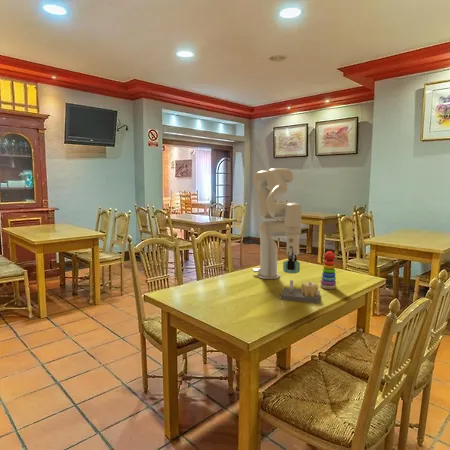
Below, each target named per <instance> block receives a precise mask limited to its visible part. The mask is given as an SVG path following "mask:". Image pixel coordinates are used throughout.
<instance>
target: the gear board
mask: <svg viewBox="0 0 450 450" xmlns="http://www.w3.org/2000/svg"><path fill="white" fill-rule="evenodd" d="M320 295H321V290H319V284H318V283H315V282H312V281H307V282H302V283H301V288H296V287H295V288H294V280H292V279H290V280H289V287H283V289H282V291H281V293H280V296H279V298H280V300H283V301H292V302H300V303H301V302H303V303H312V304H313V303H314V304H319V301H320Z"/></svg>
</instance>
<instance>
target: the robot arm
mask: <svg viewBox="0 0 450 450" xmlns="http://www.w3.org/2000/svg"><path fill="white" fill-rule="evenodd" d="M293 181H294V174H293V172H292V170H291V169H290V168H286V167H285V168H280V167H279V168H278V167H277V168H270V169H267V170H260V171H257V172H255V173H254V176H253V184H254V185H253V186H254V189H255V191H256V194H257V197H258V206H259V207H258V208H259V209H258V210H259V215H260V218H261V219H263V220H266V221H263V222H261V223H260V224H259V226H258V232H259V245H260V247H259V249H260V250H259V251H260V252H259V253H260V254H259V256H260V259H259V260H260V261H259V263H260V264H259V265H260V266H259V267H258V268H255V267H254V268H252V272H254V273H257V278H260V279H263V280H277V279H279V278H280V276H281V275H280V273H278V244H277V243H276V242H275V240H274V239H282V238H284V239H285V238H286V255H287V260H288V261H287V260H286V261H287V269H288V270H294V269H295V261H298V260H297V256H298V255H299V254H300V235H301V234H302V204H300V203H296V202H293V201H291V202H290V201H284V202H283V201H279V202H275V201H276V200H278V199H280V198H282V197H284V196H285V195H286V194H287V192H288V187H287V186H288V185H291V184H292V183H293ZM267 220H268V221H267Z"/></svg>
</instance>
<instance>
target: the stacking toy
mask: <svg viewBox="0 0 450 450" xmlns="http://www.w3.org/2000/svg"><path fill="white" fill-rule="evenodd" d="M324 259H325V260H324V264H323V266H322V267H323V269H322V276H321V280H320V284H319V286H320V288H322V289H325V290H334V289H337V281H336V279H337V277H336V269H335V267H336V266H335V261H334V260H335V259H336V255H335V253H334V252H333V251H326V252H325V253H324Z"/></svg>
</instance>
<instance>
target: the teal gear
mask: <svg viewBox="0 0 450 450" xmlns="http://www.w3.org/2000/svg"><path fill="white" fill-rule="evenodd" d="M287 261H288V259H287V260H285V261H283V263H282V264H283V265H282V272H284V274H285V273H286V274H290V275H291V274H298V273H300V270H301V269H300V267H301V263H300V261H298V260H297V261H295V269H294V270H288V269H287Z"/></svg>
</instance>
